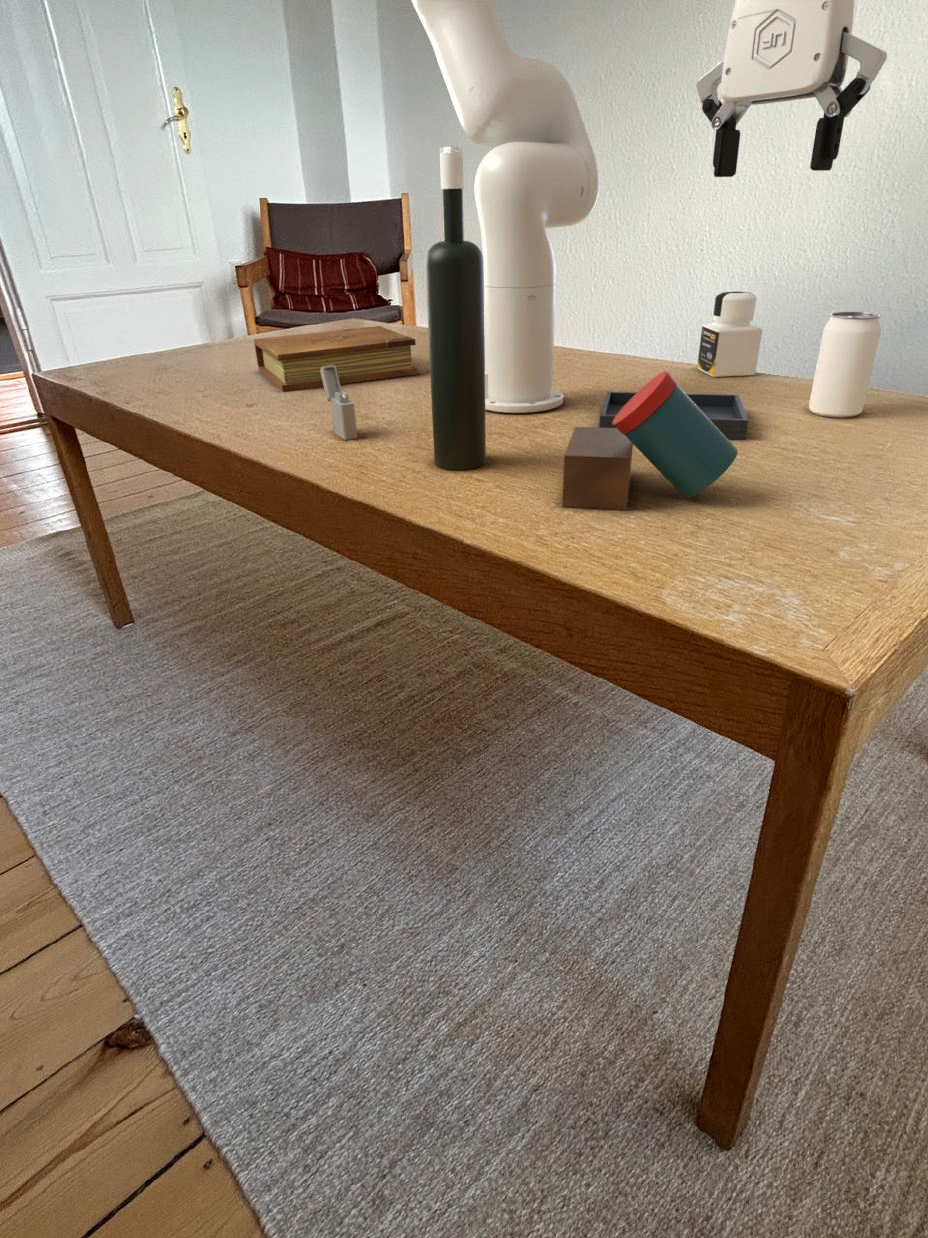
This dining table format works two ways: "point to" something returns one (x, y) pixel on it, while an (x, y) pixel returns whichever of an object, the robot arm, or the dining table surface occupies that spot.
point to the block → (597, 469)
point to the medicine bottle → (730, 337)
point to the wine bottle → (456, 330)
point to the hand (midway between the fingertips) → (770, 173)
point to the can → (845, 364)
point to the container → (675, 435)
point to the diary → (334, 356)
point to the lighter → (339, 404)
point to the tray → (716, 407)
